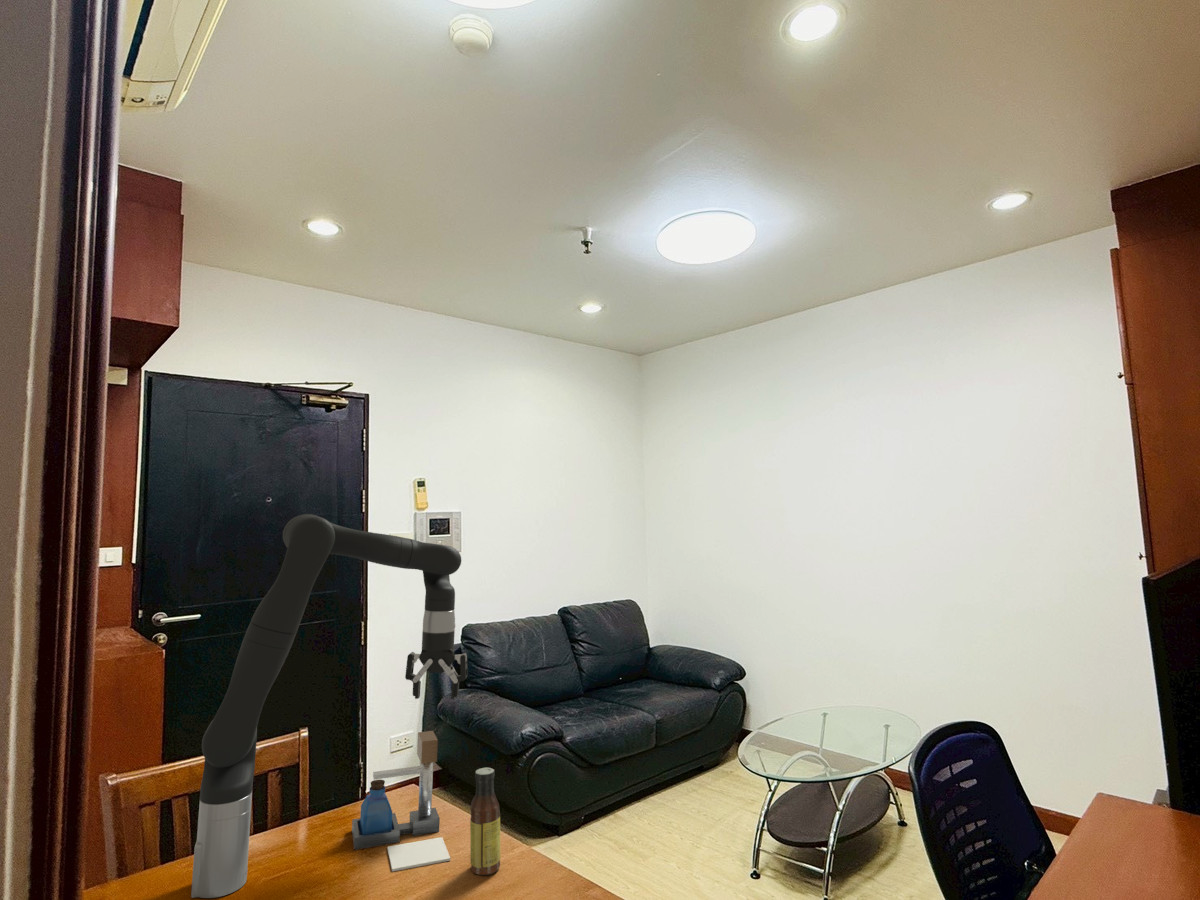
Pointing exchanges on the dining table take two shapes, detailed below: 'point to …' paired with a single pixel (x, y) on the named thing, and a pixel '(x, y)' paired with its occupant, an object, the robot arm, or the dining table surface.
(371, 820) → the perfume bottle
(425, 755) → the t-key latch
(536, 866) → the dining table surface
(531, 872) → the dining table surface
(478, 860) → the sauce bottle
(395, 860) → the pad
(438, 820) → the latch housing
